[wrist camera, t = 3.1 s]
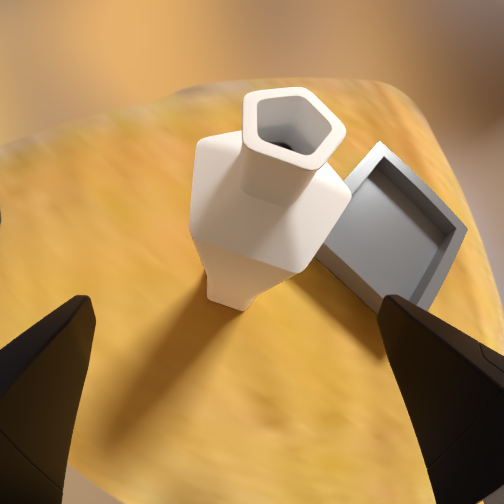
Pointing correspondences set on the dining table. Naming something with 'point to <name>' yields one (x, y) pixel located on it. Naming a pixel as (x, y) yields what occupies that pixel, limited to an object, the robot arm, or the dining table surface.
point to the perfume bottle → (266, 194)
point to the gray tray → (392, 234)
